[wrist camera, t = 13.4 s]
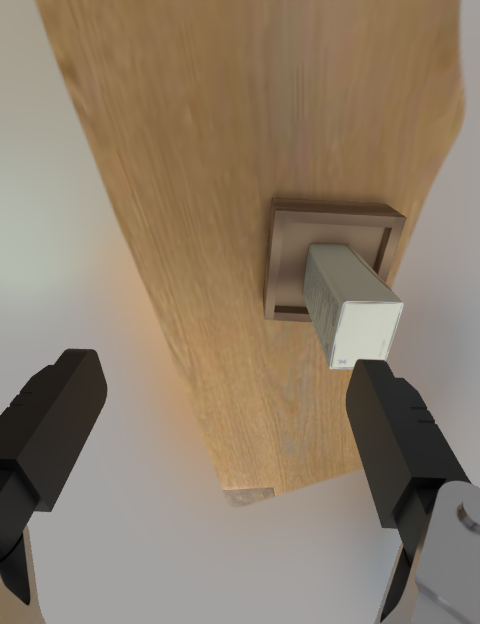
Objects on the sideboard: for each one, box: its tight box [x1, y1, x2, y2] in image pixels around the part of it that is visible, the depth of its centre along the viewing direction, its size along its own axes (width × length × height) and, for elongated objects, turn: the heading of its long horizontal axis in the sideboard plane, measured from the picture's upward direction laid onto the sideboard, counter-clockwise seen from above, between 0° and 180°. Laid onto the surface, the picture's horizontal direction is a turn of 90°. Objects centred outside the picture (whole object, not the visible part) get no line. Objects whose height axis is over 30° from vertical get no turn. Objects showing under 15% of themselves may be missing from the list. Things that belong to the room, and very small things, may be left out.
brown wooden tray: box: [263, 198, 406, 322], centre depth 34 cm, size 12×12×6 cm
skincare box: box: [303, 244, 403, 369], centre depth 28 cm, size 6×4×12 cm
